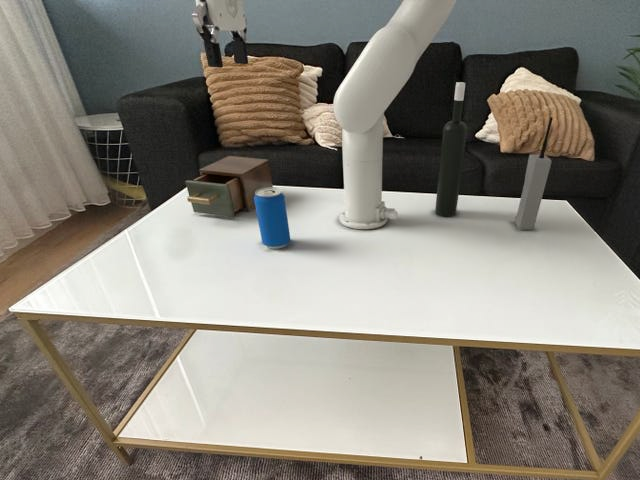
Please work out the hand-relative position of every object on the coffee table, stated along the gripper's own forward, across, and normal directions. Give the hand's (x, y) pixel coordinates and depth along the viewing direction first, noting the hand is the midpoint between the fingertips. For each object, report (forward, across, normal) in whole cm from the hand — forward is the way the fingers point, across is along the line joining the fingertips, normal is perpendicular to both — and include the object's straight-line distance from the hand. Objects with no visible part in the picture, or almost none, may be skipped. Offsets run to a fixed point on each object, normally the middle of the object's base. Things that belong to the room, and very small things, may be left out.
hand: (229, 65), depth 87 cm
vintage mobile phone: (+31, +16, -70) cm, 78 cm away
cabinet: (+33, +9, +9) cm, 35 cm away
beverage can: (+32, -14, -14) cm, 38 cm away
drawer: (+32, -1, +9) cm, 33 cm away
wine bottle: (+31, +18, -49) cm, 61 cm away
